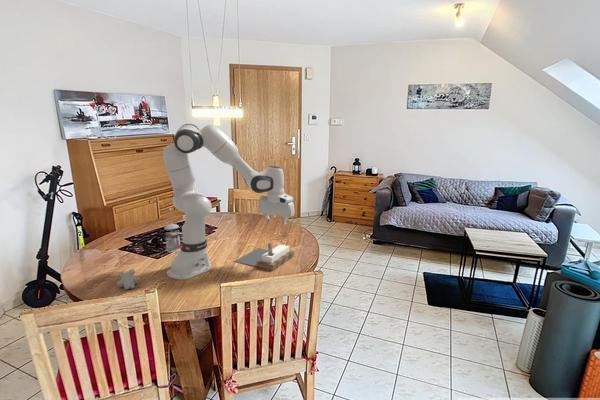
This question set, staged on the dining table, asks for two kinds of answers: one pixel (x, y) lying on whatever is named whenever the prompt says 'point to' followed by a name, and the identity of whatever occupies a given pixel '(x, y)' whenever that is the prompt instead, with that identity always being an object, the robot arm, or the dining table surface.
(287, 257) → the stand
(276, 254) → the link
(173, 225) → the french press
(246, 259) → the mat
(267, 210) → the robot arm
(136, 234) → the dining table surface
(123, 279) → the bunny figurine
